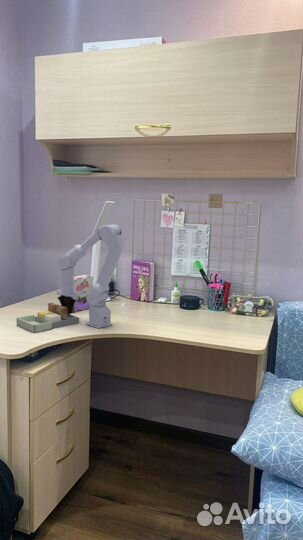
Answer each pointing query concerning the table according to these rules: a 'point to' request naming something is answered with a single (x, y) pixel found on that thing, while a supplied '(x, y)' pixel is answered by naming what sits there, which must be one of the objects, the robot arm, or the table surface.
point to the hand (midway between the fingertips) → (67, 312)
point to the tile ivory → (52, 317)
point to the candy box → (82, 291)
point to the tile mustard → (43, 314)
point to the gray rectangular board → (44, 323)
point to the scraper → (59, 309)
